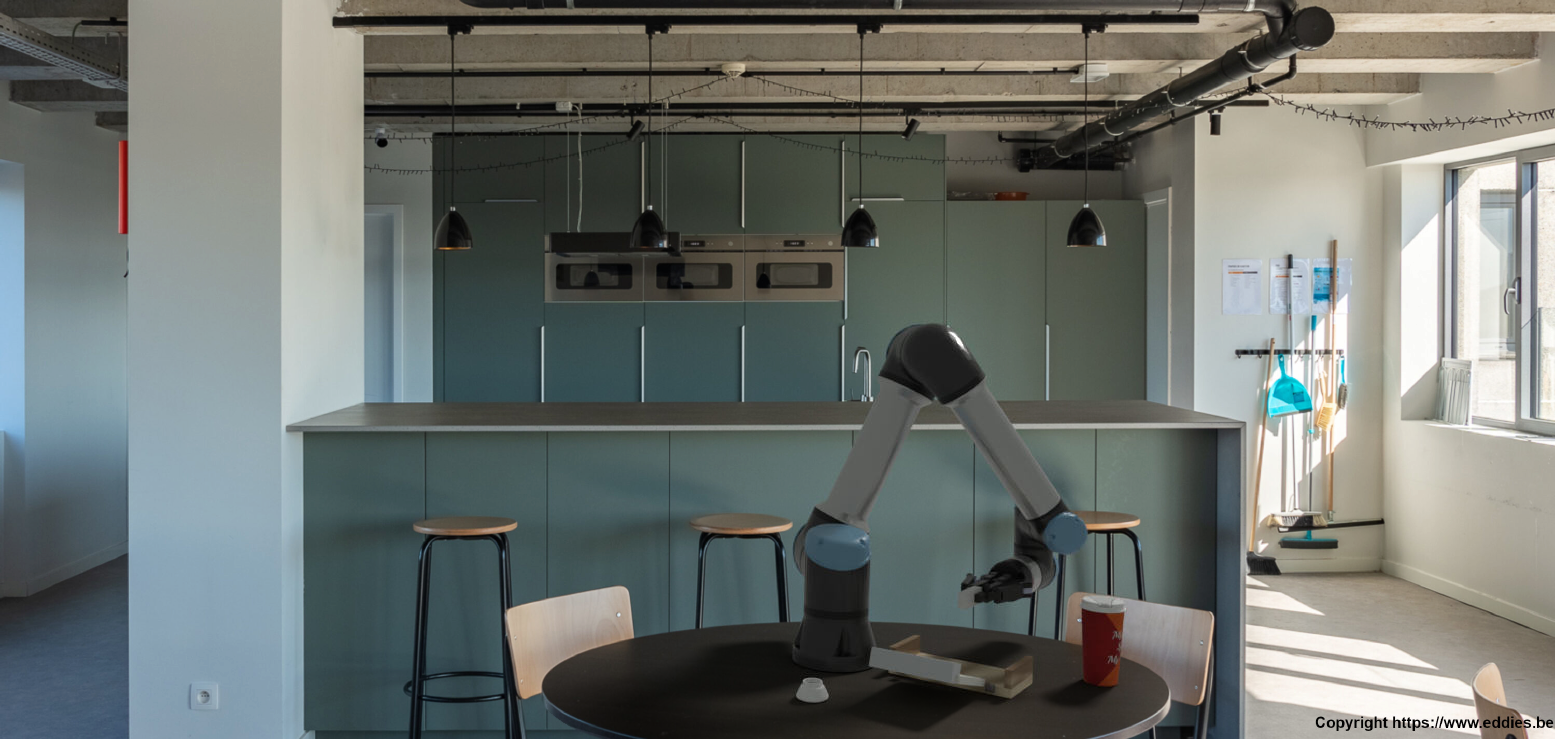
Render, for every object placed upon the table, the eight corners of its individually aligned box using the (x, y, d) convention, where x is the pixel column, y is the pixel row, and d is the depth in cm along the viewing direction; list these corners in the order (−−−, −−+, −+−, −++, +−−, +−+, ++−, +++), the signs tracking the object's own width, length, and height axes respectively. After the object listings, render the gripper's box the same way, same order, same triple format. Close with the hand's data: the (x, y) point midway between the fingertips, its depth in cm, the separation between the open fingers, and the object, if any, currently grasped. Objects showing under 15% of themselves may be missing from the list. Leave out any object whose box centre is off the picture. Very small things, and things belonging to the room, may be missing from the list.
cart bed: (882, 675, 177) (883, 649, 177) (913, 659, 187) (914, 634, 187) (1006, 702, 165) (1006, 674, 165) (1032, 683, 175) (1033, 656, 175)
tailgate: (905, 670, 175) (868, 666, 164) (908, 652, 176) (871, 646, 164) (984, 686, 167) (950, 683, 156) (986, 667, 168) (953, 662, 157)
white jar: (793, 695, 166) (800, 705, 161) (793, 676, 166) (800, 686, 161) (823, 693, 167) (831, 703, 162) (823, 675, 167) (832, 685, 162)
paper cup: (1127, 690, 172) (1129, 606, 172) (1079, 686, 174) (1081, 603, 174) (1121, 676, 180) (1123, 596, 180) (1075, 672, 182) (1077, 593, 181)
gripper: (1047, 604, 191) (998, 629, 171) (980, 593, 198) (926, 616, 179) (1048, 563, 191) (999, 584, 171) (982, 554, 198) (927, 573, 179)
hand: (962, 601), depth 175 cm, fingers closed
